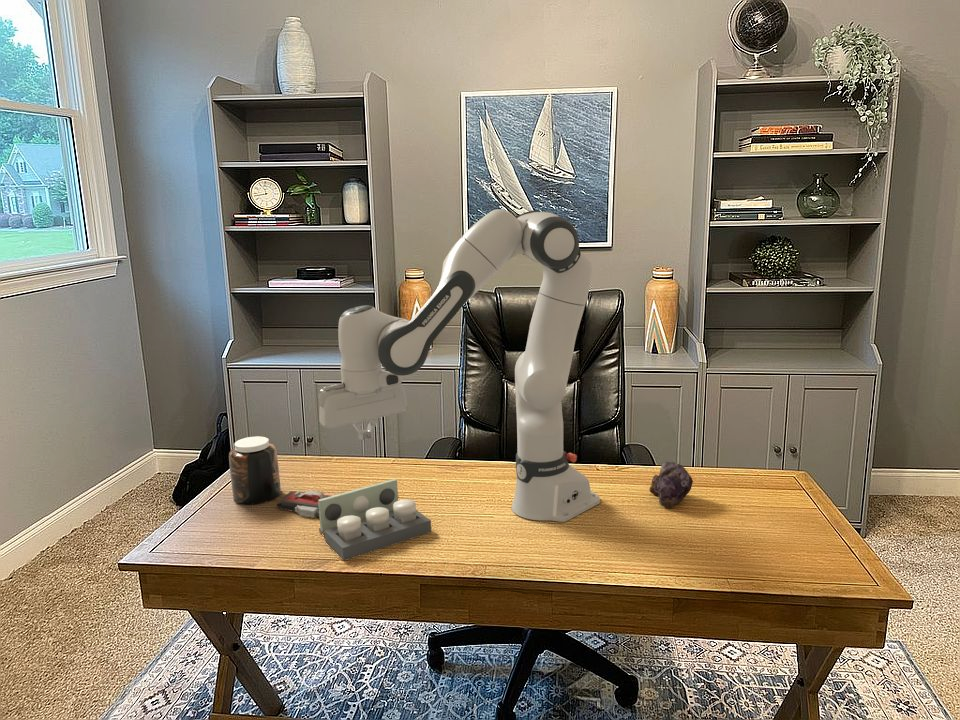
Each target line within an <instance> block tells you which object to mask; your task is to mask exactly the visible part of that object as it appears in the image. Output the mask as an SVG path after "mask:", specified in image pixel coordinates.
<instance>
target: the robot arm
mask: <svg viewBox="0 0 960 720" xmlns="http://www.w3.org/2000/svg"><path fill="white" fill-rule="evenodd" d="M580 248H581V247H580V241H579V235H578V232H577V229H576V228H575V227H574V225H573V223H571V222H570V220H567V219H566V218H564V217H562V216H559V215H557V214H555V213H553V212H548V211H542V210H529V211H527V212H526V211H525V212H523V213H520V214H517V215H514V214H512V213H511V212H509V211H507V210H506V209H500V208H497V209H492V210H491V211H490V212H488V213H487V214H485V215H484V216H483V217H481V218H480V219H479V220H478V221H477V222H475V223H474V224H473V225H472V226H470V228H469V229H468V230H467V231H466V232H465V233H464V234H463V235H462V236H461V237H459V240H457V241H456V242H455V244H454V245H453V246H452V247H451V249H450V250H449V252H448V254H447V255H446V257H445V258H444V260H443V262H442V269H441V275H440V279H439V282H438V285H437V287H436V289H435V291H434V292H433V294H432V295H431V296H430V297H429V298H428V299H427V300H426V302H425V303H424V304H423V305H422V306H421V308H420V309H419V310H418V311H417V312H416V314H415V315H414V316H413V317H412V318H411V319H410V320H409V319H407V318H403V317H397V316H394V315H390V314H387V313H385V312H382V311H381V310H378V309H377V308H375V307H374V306H372V305H367V304H365V305H359V306H354V307H351V308H349V309H346V310H344V312H342V314H341V315H340V316H339V320H338V327H337V328H338V330H337V332H338V333H337V334H338V348H339V351H340V356H341V363H340V377H341V378H340V379H341V382H340V383H335V384H333V385H326V386H324V387H323V388H322V389H320V390H319V392H318V394H317V398H318V404H319V410H318V411H319V413H318V417H319V420H318V421H319V423H320V425H321V426H323V427H324V428H326V429H328V430H331V429H334V428H339V427H343V426H349V425H352V426H353V427H354V429H355V430H356V432H357V438H358V440H360V441H363V440H368V439H372V438H374V430H375V427H376V426H377V424H378V419H379V418H384V417H388V416H393V415H396V414H401V413H405V411H406V410H407V407H408V401H407V394H406V389H405V386H404V385H403V384H402V382H403V376H410V375H412V374H414V373H416V372H418V371H419V370H420V369H421V368H422V367H423V366H424V364H425V362H426V360H427V358H428V355H429V352H430V349H431V346H432V344H433V343H434V341H435V340H436V338H437V337H438V336H439V335H440V333H442V331H443V330H444V329H445V328H446V326H448V324H449V323H450V322H451V320H453V318H454V317H455V316H456V315H457V314H458V312H459V311H460V310H461V308H463V306H464V305H465V304H466V303H467V302H468V301H469V300H471V299H472V297H474V295H475V294H476V293H478V292H479V291H480V290H481V289H482V288H484V286H486V284H488V283H489V282H490V281H491V280H492V279H493V278H494V277H495V276H496V274H497V273H498V272H500V270H501V269H502V268H503V267H504V266H505V265H506V263H507V262H509V261H510V260H512V258H514V257H516V256H518V255H523V256H525V257H527V258H528V259H529V260H531V261H533V262H536V263H540V264H541V265H542V270H543V274H542V281H541V284H540V288H539V291H538V294H537V298H536V302H535V304H534V308H533V313H532V317H531V320H530V323H529V327H528V328H529V329H528V334H527V338H526V339H527V341H526V346H525V351H523V352H522V353H521V354H520V355H519V356H518V359H517V360H516V361H515V362H516V363H515V366H514V389H515V410H516V434H517V435H516V438H517V447H516V448H517V449H516V451H517V452H516V453H515V471H516V481H515V482H516V483H515V491H514V496H513V501H512V504H511V511H512V513H514V514H516V515H517V516H519V517H521V518H524V519H528V520H531V521H532V520H533V521H553V522H560V523H564V522H568V521H569V520H572V519H573V518H575V517H577V516H579V515H580V514H583V513H584V512H586V511H588V510H589V509H591V508H593V507H595V506H597V505H599V504H600V503H601V498H600V496H599V495H598V494H597V493H595V492H594V491H592V490H591V484H590V480H589V479H588V478H587V476H586V475H585V474H583V473H582V472H580V471H579V470H577V469H575V468H574V467H573V466H571V465H570V464H569V461H570V462H571V463H576V461H577V460H578V459H577V458H578V456H577V454H575V453H572V452H568V453H567V451H565V450H564V419H563V418H564V417H563V405H562V401H563V400H564V397H565V394H566V390H567V385H568V380H569V375H570V372H571V366H572V361H573V356H574V349H575V345H576V340H577V335H578V331H579V328H580V324H581V321H582V318H583V314H584V311H585V307H586V304H587V300H588V296H589V291H590V288H591V287H590V285H591V280H592V268H593V267H592V262H591V260H590V259H589V257H587V256H586V255H585V254H584V253H582V252H581V249H580ZM382 367H383V368H382ZM366 421H367V422H368V425H367V427H366V428H365V429H362V428H361V427H362V426H363V422H366Z"/></svg>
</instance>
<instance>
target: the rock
mask: <svg viewBox="0 0 960 720" xmlns="http://www.w3.org/2000/svg"><path fill="white" fill-rule="evenodd" d="M660 466H661V468H660V469H659V474H654V476H653V477H652V480H651V485H650V487H649V492H650V494H653V496H657V497H658V499H659V505H660V506H661V507H664V508H669V509H671V508H672V509H673V508H674V507H676V506H677V505H678V504H679V503H680V502H683V501H684V498H686V496H687V495H688V494H689V493H690V491H691V490H692V485H693V483H694V480H693V477H692V476H691V475H690V474H689V472H688V470H686V468H685V466H683V465H681V464H679V463H676V462H674V461H668V460H667V461H666V462H663V463H662V465H660Z"/></svg>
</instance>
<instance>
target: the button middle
mask: <svg viewBox="0 0 960 720" xmlns="http://www.w3.org/2000/svg"><path fill="white" fill-rule="evenodd" d="M366 522H367V528H368V529H369V530H371V531H372V532H373V533H374V532H377V531H380V530H383V529H386V528H389V510H388V509H386V508H383V507H376V508H371V509H369V510H367V511H366Z"/></svg>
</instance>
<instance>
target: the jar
mask: <svg viewBox="0 0 960 720" xmlns="http://www.w3.org/2000/svg"><path fill="white" fill-rule="evenodd" d="M276 448H277V447H276V445H274V444H273V443H270V439H269V438H268V437H265V436H257V435H255V436H247V437H244V438H241V439H238V440H236V441H235V442H234V447H233V448H232V449H231V450H230V451H229V453H228V461H229V463H228V464H229V473H230V483H231V490H232V498H233V501H234V502H235V503H237V504H240V505H249V506H250V505H260V504H264V503H265V504H266V503H268V502H271V501H273V500H275V499H277V498H278V497H279V496H280V495H281V491H282V489H281V478H280V470H279V460H278V452H277V449H276Z"/></svg>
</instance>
